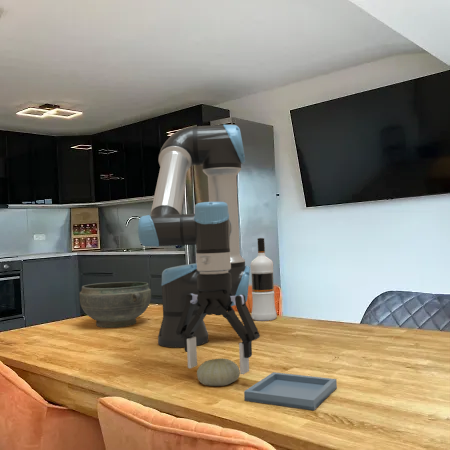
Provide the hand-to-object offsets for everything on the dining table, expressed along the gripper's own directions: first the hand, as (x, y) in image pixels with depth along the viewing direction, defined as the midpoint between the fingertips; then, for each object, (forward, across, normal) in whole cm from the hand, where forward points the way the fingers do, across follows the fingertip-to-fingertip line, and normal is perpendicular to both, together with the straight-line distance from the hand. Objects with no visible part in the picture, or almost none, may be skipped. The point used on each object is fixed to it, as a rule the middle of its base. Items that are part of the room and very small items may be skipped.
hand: (217, 369), depth 111 cm
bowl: (+3, -72, +49) cm, 87 cm away
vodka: (+3, -23, +74) cm, 78 cm away
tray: (+3, +18, -2) cm, 18 cm away
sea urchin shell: (+3, 0, 0) cm, 3 cm away
